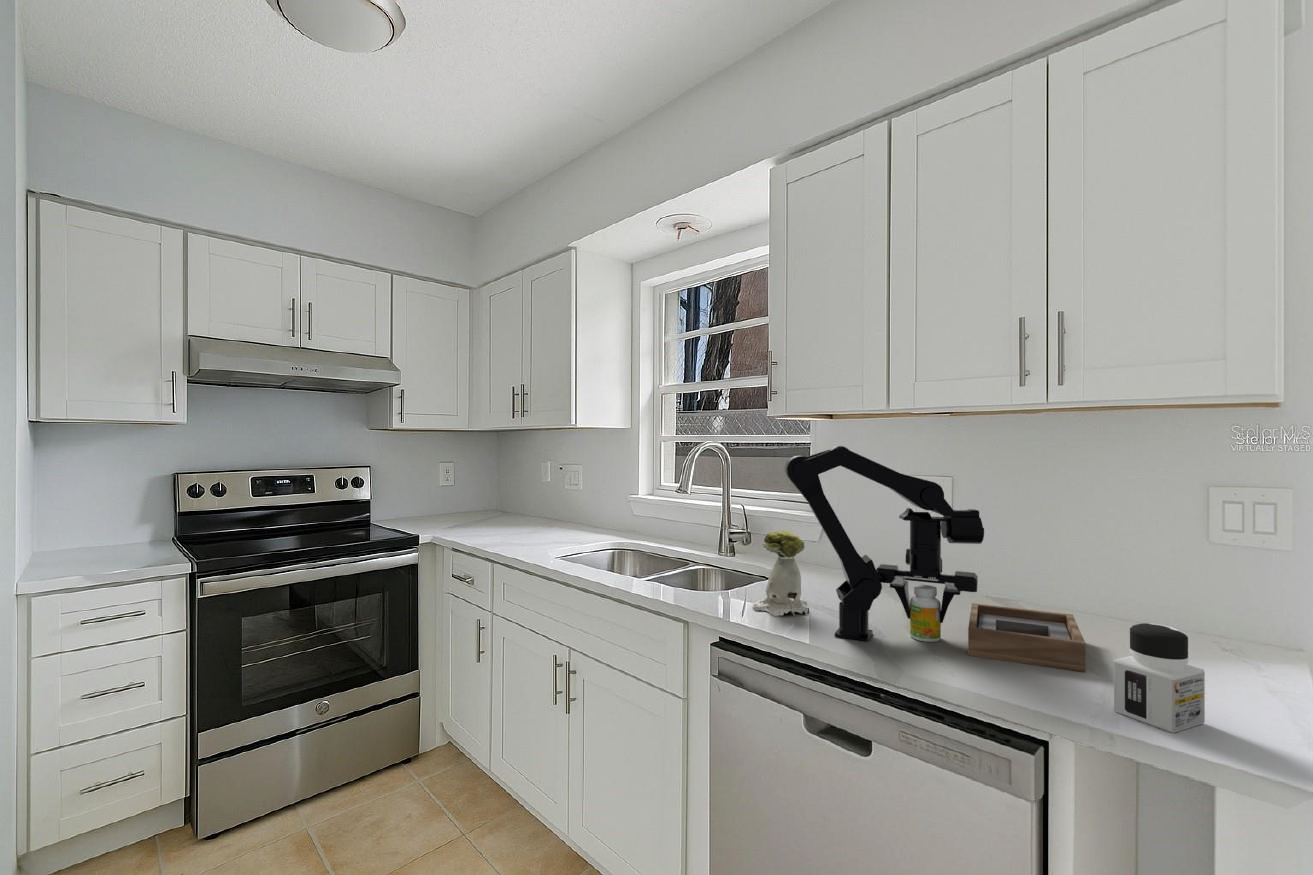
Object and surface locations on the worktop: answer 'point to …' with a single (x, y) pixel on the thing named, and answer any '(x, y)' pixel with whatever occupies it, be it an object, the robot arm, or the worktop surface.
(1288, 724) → the worktop surface
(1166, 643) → the container
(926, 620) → the supplement bottle
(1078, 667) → the tray
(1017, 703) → the worktop surface
